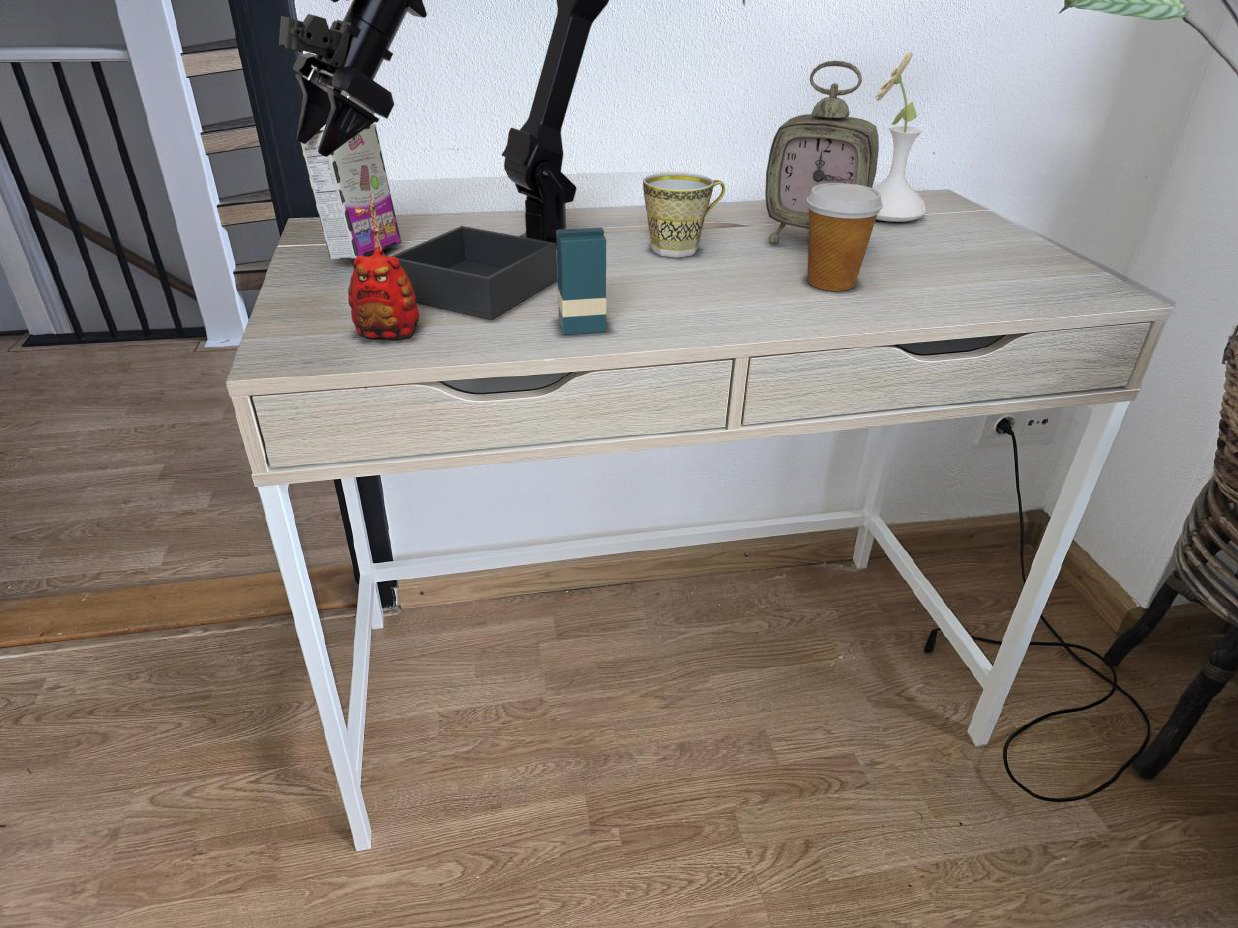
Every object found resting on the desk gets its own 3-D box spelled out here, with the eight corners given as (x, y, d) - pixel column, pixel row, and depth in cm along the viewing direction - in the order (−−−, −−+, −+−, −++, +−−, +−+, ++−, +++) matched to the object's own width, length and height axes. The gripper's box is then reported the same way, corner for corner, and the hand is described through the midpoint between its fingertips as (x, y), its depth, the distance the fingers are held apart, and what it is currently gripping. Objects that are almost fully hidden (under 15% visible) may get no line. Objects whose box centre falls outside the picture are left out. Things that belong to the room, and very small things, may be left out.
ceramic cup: (662, 265, 114) (665, 193, 108) (628, 245, 121) (630, 176, 116) (739, 252, 119) (745, 182, 114) (702, 233, 126) (707, 167, 121)
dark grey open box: (465, 261, 114) (461, 225, 112) (557, 280, 109) (556, 243, 106) (392, 297, 103) (387, 257, 100) (491, 320, 97) (488, 279, 94)
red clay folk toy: (347, 343, 91) (322, 208, 83) (363, 318, 97) (341, 190, 89) (415, 344, 91) (396, 209, 83) (427, 319, 97) (411, 191, 89)
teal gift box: (558, 321, 97) (555, 225, 91) (600, 318, 98) (600, 223, 92) (563, 335, 94) (560, 236, 88) (606, 332, 95) (606, 234, 88)
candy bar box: (373, 245, 120) (347, 126, 113) (402, 244, 119) (378, 122, 112) (326, 261, 111) (295, 132, 104) (357, 260, 109) (327, 128, 102)
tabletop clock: (758, 246, 122) (778, 61, 108) (771, 229, 129) (792, 54, 115) (856, 259, 117) (890, 68, 104) (864, 241, 124) (897, 60, 111)
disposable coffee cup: (870, 275, 112) (887, 186, 105) (864, 300, 104) (882, 205, 98) (800, 267, 114) (813, 179, 108) (790, 290, 107) (802, 197, 100)
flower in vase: (877, 204, 142) (907, 44, 128) (937, 218, 135) (975, 51, 121) (834, 218, 134) (860, 49, 121) (895, 234, 127) (930, 57, 114)
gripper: (282, -21, 97) (226, 99, 99) (333, -13, 84) (268, 124, 87) (364, 38, 105) (310, 147, 107) (422, 53, 92) (360, 177, 95)
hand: (310, 148), depth 99 cm, fingers open, 8 cm apart
